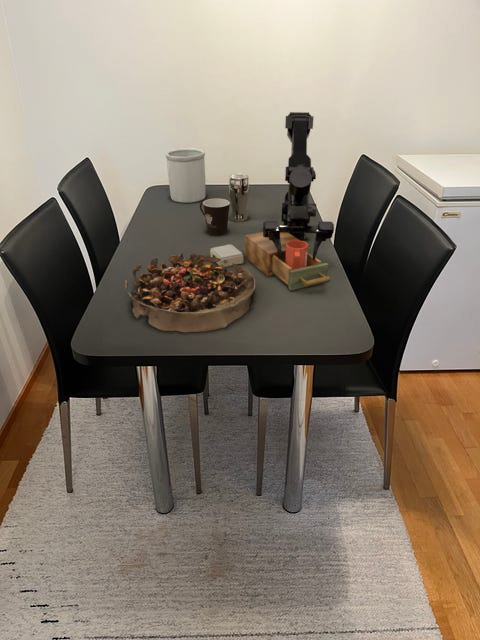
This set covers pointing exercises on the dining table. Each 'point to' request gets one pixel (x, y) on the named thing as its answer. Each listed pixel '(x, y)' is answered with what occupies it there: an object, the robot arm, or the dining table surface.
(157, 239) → the dining table surface
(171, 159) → the utensil holder
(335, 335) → the dining table surface
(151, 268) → the food dish
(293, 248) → the red mug
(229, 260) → the kitchen scale
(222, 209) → the coffee mug
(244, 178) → the beer glass
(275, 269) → the drawer
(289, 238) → the cabinet
